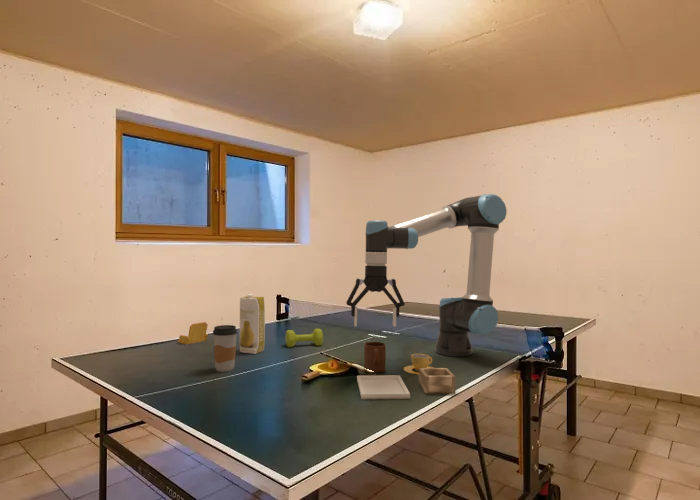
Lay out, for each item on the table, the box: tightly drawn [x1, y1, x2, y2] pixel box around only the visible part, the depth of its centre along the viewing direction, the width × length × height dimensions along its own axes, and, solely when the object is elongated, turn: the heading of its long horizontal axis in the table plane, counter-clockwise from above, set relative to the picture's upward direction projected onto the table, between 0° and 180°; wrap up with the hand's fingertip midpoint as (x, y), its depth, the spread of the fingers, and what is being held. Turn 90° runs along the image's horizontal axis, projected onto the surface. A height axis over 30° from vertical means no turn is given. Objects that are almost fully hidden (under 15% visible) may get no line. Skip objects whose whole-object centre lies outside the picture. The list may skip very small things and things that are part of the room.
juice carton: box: [239, 293, 266, 355], centre depth 178 cm, size 9×8×24 cm
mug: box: [363, 341, 387, 374], centre depth 149 cm, size 12×8×9 cm, turn 2°
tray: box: [356, 374, 411, 400], centre depth 131 cm, size 14×18×2 cm
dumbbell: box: [284, 328, 324, 348], centre depth 190 cm, size 16×8×7 cm, turn 106°
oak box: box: [418, 367, 456, 394], centre depth 132 cm, size 9×9×5 cm
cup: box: [403, 353, 435, 375], centre depth 152 cm, size 12×12×5 cm
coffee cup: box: [212, 324, 238, 373], centre depth 151 cm, size 8×8×15 cm
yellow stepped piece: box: [178, 321, 209, 345], centre depth 196 cm, size 10×10×9 cm
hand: (375, 325), depth 149 cm, fingers open, 13 cm apart
